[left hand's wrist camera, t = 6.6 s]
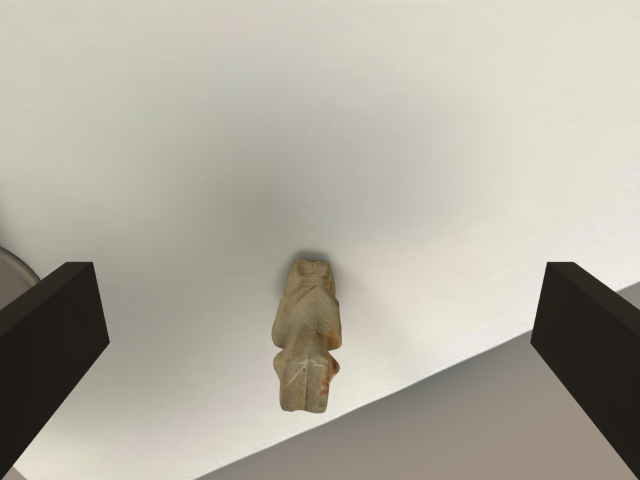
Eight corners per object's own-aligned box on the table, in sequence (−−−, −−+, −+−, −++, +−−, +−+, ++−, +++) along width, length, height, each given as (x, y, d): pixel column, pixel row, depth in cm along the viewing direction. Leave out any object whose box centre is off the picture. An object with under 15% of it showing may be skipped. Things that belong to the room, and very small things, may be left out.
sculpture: (277, 309, 44) (257, 417, 30) (286, 246, 42) (269, 332, 28) (331, 317, 45) (337, 427, 31) (344, 255, 42) (356, 344, 28)
